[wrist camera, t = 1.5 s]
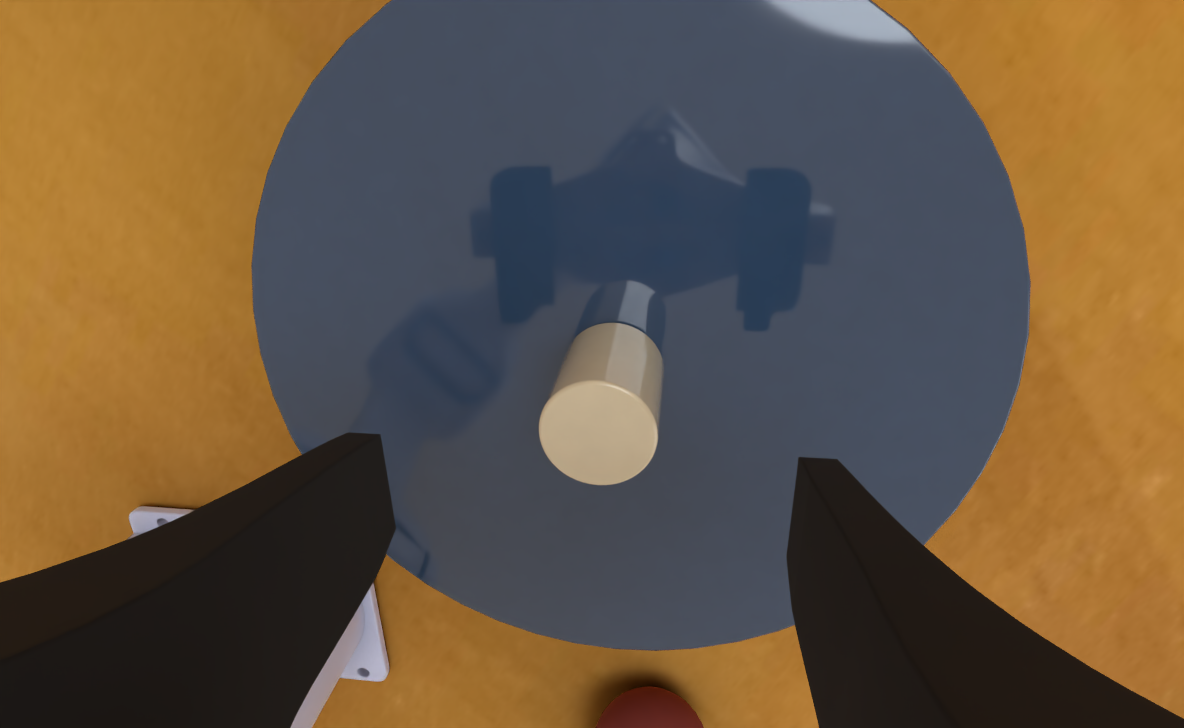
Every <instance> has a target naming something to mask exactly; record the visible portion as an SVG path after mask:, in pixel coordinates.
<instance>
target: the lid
mask: <svg viewBox="0 0 1184 728" xmlns="http://www.w3.org/2000/svg"><path fill="white" fill-rule="evenodd" d="M252 290H253V312H254V318H255V324H256V330H257V336H258V342H259V347H260V353H261V357H262V360H263V364H264V367H265V370H266V374H267V377H268V380H269V384H270V387H271V390H272V394H273V396H274V399H275V401H276V403H277V406H278V408H279V410H280V412H281V415H282V417H283V419H284V422H285V424H286V426H287V429H288V431H289V433H290V435H291V437H292V439H293V440H294V442H295V444H296V445H297V447H298V449H299V451H300V452H301V454H304V453H306V452H308V451H310V450H312V449H314V448H316V447H318V446H320V445H322V444H323V443H326V442H328V441H330V440H332V439H334V438H336V437H338V436H341V435H343V434H346V433H348V432H350V433H368V434H381V440H382V446H383V452H384V458H385V464H386V470H387V476H388V482H389V488H390V494H391V500H392V506H393V512H394V518H395V525H396V530H395V533H394V535H393V538H392V540H391V543H390V545H389V548H388V550H387V553H386V554H387V555H388V556H389V557H390V558H391V559H393V560H394V561H395V562H396V563H398V564H399V565H401V566H402V567H403V568H405V569H406V570H408V571H409V572H410V573H412V574H413V575H415V576H416V577H417V578H419V579H420V580H422V581H423V582H424V583H426V584H427V585H429V586H431V587H432V588H434V589H436V590H438V591H439V592H441V593H443V594H445V595H446V596H448V597H450V598H452V599H453V600H455V601H457V602H458V603H460V604H462V605H464V606H466V607H469V608H471V609H473V610H475V611H477V612H480V613H482V614H484V615H486V616H488V617H491V618H493V619H495V620H497V621H500V622H503V623H506V624H509V625H512V626H515V627H517V628H520V629H523V630H526V631H529V632H532V633H535V634H539V635H543V636H547V637H551V638H555V639H560V640H564V641H568V642H572V643H577V644H584V645H591V646H598V647H606V648H613V649H631V650H654V651H657V650H675V649H693V648H702V647H708V646H715V645H721V644H727V643H734V642H739V641H743V640H747V639H750V638H754V637H758V636H762V635H766V634H769V633H773V632H777V631H780V630H782V629H785V628H788V627H790V626H793V625H795V622H794V618H793V613H792V606H791V598H790V589H789V579H788V569H787V558H786V555H787V547H788V539H789V531H790V523H791V515H792V507H793V498H794V490H795V482H796V474H797V466H798V458H799V457H809V458H828V459H838V460H839V461H840V462H841V463H842V464H843V465H844V466H845V467H846V468H847V470H848V471H849V472H850V473H851V474H852V475H853V476H854V477H855V478H856V479H857V480H858V481H859V482H860V483H861V484H862V485H863V486H864V488H865V489H866V490H867V491H868V492H869V493H870V494H871V495H872V496H873V497H874V498H875V499H876V500H877V501H878V502H879V503H880V504H881V505H882V506H883V507H884V508H885V509H886V510H887V511H888V512H889V513H890V514H891V515H892V516H893V517H894V518H895V519H896V520H897V521H898V522H899V523H900V524H901V525H902V526H903V527H904V528H905V529H906V530H907V531H908V532H909V533H910V534H912V535H913V536H914V537H915V538H916V539H917V540H918V541H919V542H920V543H921V544H922V545H924V544H926V542H927V541H928V540H929V539H930V538H931V537H932V536H933V535H934V534H935V533H936V532H937V530H938V529H939V528H940V527H941V526H942V525H943V524H944V523H945V522H946V521H947V519H948V518H949V517H950V516H951V515H952V514H953V513H954V512H955V511H956V509H957V508H958V506H959V505H960V504H961V502H962V501H963V499H964V498H965V496H966V495H967V494H968V492H969V491H970V489H971V488H972V486H973V485H974V484H975V482H976V481H977V479H978V478H979V476H980V475H981V473H982V472H983V470H984V468H985V466H986V464H987V462H988V460H989V458H990V456H991V454H992V452H993V450H994V448H995V446H996V445H997V443H998V441H999V439H1000V437H1001V435H1002V433H1003V431H1004V428H1005V425H1006V422H1007V419H1008V417H1009V414H1010V411H1011V408H1012V405H1013V402H1014V399H1015V396H1016V393H1017V390H1018V387H1019V384H1020V379H1021V374H1022V369H1023V363H1024V358H1025V352H1026V347H1027V342H1028V336H1029V313H1030V274H1029V266H1028V258H1027V250H1026V242H1025V234H1024V227H1023V224H1022V221H1021V217H1020V214H1019V210H1018V207H1017V203H1016V200H1015V196H1014V193H1013V189H1012V186H1011V182H1010V179H1009V175H1008V173H1007V171H1006V169H1005V167H1004V165H1003V163H1002V160H1001V158H1000V156H999V154H998V152H997V150H996V148H995V146H994V143H993V141H992V139H991V137H990V135H989V133H988V131H987V129H986V126H985V124H984V122H983V121H982V119H981V118H980V116H979V115H978V114H977V112H976V111H975V109H974V108H973V106H972V105H971V103H970V102H969V100H968V99H967V97H966V96H965V94H964V93H963V92H962V90H961V89H960V87H959V86H958V84H957V83H956V81H955V80H954V78H953V77H952V75H951V74H950V73H949V72H948V71H947V69H946V68H945V67H944V66H943V65H942V64H941V63H940V62H939V61H938V60H937V59H936V58H935V57H934V56H933V55H932V54H931V53H930V52H929V50H928V49H927V48H926V47H925V46H924V45H923V44H922V43H921V42H920V41H919V40H918V39H917V38H916V37H915V36H914V35H913V34H912V32H911V31H910V30H909V29H908V28H906V27H905V26H904V25H903V24H901V23H900V22H899V21H897V20H896V19H895V18H893V17H892V16H891V15H890V14H888V13H887V12H886V11H884V10H883V9H882V8H880V7H879V6H878V5H877V4H875V3H874V2H873V1H871V0H391V1H390V2H388V3H387V4H386V5H385V6H383V7H382V8H381V9H380V10H379V11H378V12H377V13H376V14H375V15H373V16H372V17H371V18H370V19H369V20H368V21H367V22H366V23H365V24H363V25H362V26H361V27H360V28H359V29H358V30H357V31H356V32H355V33H354V34H352V35H351V36H350V37H349V38H348V39H347V40H346V41H345V42H344V43H343V45H342V46H341V47H340V48H339V50H338V51H337V52H336V53H335V54H334V56H333V57H332V58H331V59H330V61H329V62H328V63H327V64H326V66H325V67H324V68H323V69H322V70H321V72H320V73H319V74H318V75H317V77H316V78H315V79H314V80H313V82H312V83H311V85H310V87H309V88H308V90H307V92H306V93H305V95H304V97H303V98H302V100H301V102H300V104H299V105H298V107H297V109H296V110H295V112H294V114H293V115H292V117H291V119H290V121H289V122H288V124H287V126H286V128H285V130H284V133H283V135H282V138H281V140H280V143H279V145H278V148H277V150H276V153H275V155H274V158H273V160H272V163H271V165H270V168H269V170H268V173H267V177H266V181H265V185H264V189H263V193H262V197H261V201H260V205H259V210H258V214H257V218H256V226H255V236H254V246H253V256H252Z"/></svg>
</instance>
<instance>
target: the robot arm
mask: <svg viewBox="0 0 1184 728" xmlns="http://www.w3.org/2000/svg"><path fill="white" fill-rule="evenodd" d="M129 521H130V524H131V527H132V530H133V532H134V534H132V535H131V536H130V537H129V538H128V539H127V540H125V541H122V542H120V543H117V544H115V545H112V546H110V547H107V548H104V549H101V550H98V551H96V552H93V553H90V554H87V555H84V556H81V557H78V558H75V559H72V560H69V561H66V562H64V563H61V564H58V565H55V566H52V567H49V568H46V569H43V570H40V571H37V572H34V573H31V574H28V575H25V576H21V577H18V578H14V579H11V580H8V581H4V582H1V583H0V728H312V726H313V725H314V723H315V721H316V719H317V718H318V716H319V714H320V712H321V710H322V709H323V707H324V705H325V703H326V701H327V700H328V698H329V696H330V694H331V692H332V691H333V689H334V687H335V685H336V683H337V682H338V680H339V678H347V679H357V680H367V681H383V680H385V678H386V677H387V675H388V673H389V670H390V667H389V662H388V657H387V652H386V646H385V641H384V636H383V630H382V625H381V620H380V615H379V609H378V604H377V599H376V593H375V588H374V583H373V582H374V580H375V578H376V576H377V574H378V572H379V569H380V567H381V565H382V562H383V560H384V558H385V555H386V553H387V550H388V548H389V545H390V543H391V540H392V538H393V535H394V533H395V530H396V525H395V518H394V512H393V506H392V500H391V494H390V488H389V482H388V476H387V470H386V464H385V458H384V452H383V446H382V440H381V434H368V433H350V432H348V433H346V434H343V435H341V436H338V437H336V438H334V439H332V440H330V441H328V442H326V443H323V444H322V445H320V446H318V447H316V448H314V449H312V450H310V451H308V452H306V453H304V454H302V455H301V456H299V457H297V458H295V459H293V460H291V461H289V462H288V463H286V464H284V465H282V466H280V467H278V468H276V469H274V470H273V471H271V472H269V473H267V474H265V475H263V476H261V477H260V478H258V479H256V480H254V481H252V482H250V483H248V484H246V485H245V486H243V487H241V488H239V489H237V490H234V491H232V492H230V493H228V494H226V495H224V496H222V497H220V498H218V499H216V500H214V501H212V502H210V503H208V504H206V505H204V506H202V507H200V508H198V509H196V510H190V509H176V508H162V507H148V506H140V507H137V508H136V509H135V510H133V511H132V512H131V513H130V515H129ZM786 558H787V569H788V579H789V589H790V598H791V606H792V613H793V618H794V622H795V627H796V631H797V635H798V640H799V644H800V648H801V652H802V657H803V661H804V665H805V669H806V673H807V678H808V682H809V686H810V690H811V694H812V699H813V703H814V707H815V711H816V715H817V720H818V724H819V728H1184V719H1183V718H1181V717H1179V716H1177V715H1176V714H1174V713H1172V712H1170V711H1168V710H1166V709H1164V708H1163V707H1161V706H1159V705H1157V704H1155V703H1153V702H1151V701H1150V700H1148V699H1146V698H1144V697H1142V696H1140V695H1138V694H1137V693H1135V692H1133V691H1131V690H1129V689H1127V688H1126V687H1124V686H1122V685H1120V684H1119V683H1117V682H1115V681H1113V680H1112V679H1110V678H1108V677H1106V676H1105V675H1103V674H1101V673H1100V672H1098V671H1096V670H1094V669H1093V668H1091V667H1089V666H1088V665H1086V664H1085V663H1083V662H1081V661H1080V660H1078V659H1077V658H1075V657H1073V656H1072V655H1070V654H1069V653H1067V652H1065V651H1064V650H1062V649H1061V648H1059V647H1057V646H1056V645H1054V644H1053V643H1051V642H1050V641H1048V640H1046V639H1045V638H1043V637H1042V636H1040V635H1039V634H1037V633H1036V632H1034V631H1033V630H1031V629H1030V628H1028V627H1027V626H1025V625H1024V624H1022V623H1021V622H1019V621H1018V620H1017V619H1015V618H1014V617H1012V616H1011V615H1010V614H1008V613H1007V612H1006V611H1004V610H1003V609H1002V608H1000V607H999V606H997V605H996V604H995V603H993V602H992V601H991V600H989V599H988V598H987V597H985V596H984V595H982V594H981V593H980V592H978V591H977V590H976V589H975V588H973V587H972V586H971V585H969V584H968V583H967V582H966V581H964V580H963V579H962V578H961V577H959V576H958V575H957V574H956V573H955V572H954V571H952V570H951V569H950V568H949V567H948V566H947V565H945V564H944V563H943V562H942V561H941V560H940V559H938V558H937V557H936V556H935V555H934V554H933V553H931V552H930V551H929V550H928V549H927V548H926V547H925V546H924V545H922V544H921V543H920V542H919V541H918V540H917V539H916V538H915V537H914V536H913V535H912V534H910V533H909V532H908V531H907V530H906V529H905V528H904V527H903V526H902V525H901V524H900V523H899V522H898V521H897V520H896V519H895V518H894V517H893V516H892V515H891V514H890V513H889V512H888V511H887V510H886V509H885V508H884V507H883V506H882V505H881V504H880V503H879V502H878V501H877V500H876V499H875V498H874V497H873V496H872V495H871V494H870V493H869V492H868V491H867V490H866V489H865V488H864V486H863V485H862V484H861V483H860V482H859V481H858V480H857V479H856V478H855V477H854V476H853V475H852V474H851V473H850V472H849V471H848V470H847V468H846V467H845V466H844V465H843V464H842V463H841V462H840V461H839V460H838V459H828V458H809V457H799V458H798V466H797V474H796V482H795V490H794V498H793V507H792V515H791V523H790V531H789V539H788V547H787V555H786Z"/></svg>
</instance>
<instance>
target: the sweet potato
mask: <svg viewBox="0 0 1184 728" xmlns="http://www.w3.org/2000/svg"><path fill="white" fill-rule="evenodd" d="M596 728H703V725H702V722H701V721H700V719H699V717H698V716H697V714H696V713H695V711H694V710H693V709H692V708H691V707H690V706H689V704H688V703H687V702H686V701H685V700H683V699H682V698H681V697H680V696H678V695H676V694H674V693H672V692H670V691H668V690H665V689H662V688H657V687H639V688H635V689H632V690H629V691H626V692H624V693H622V694H621V695H619V696H618V697H617V698H615V699H614V700H613V701H612V702H611V703H610V704H609V705H608V706H607V708H606V709H605V710H604V711H603V713H602V715H601V717H600V719H599V721H598V723H597V725H596Z"/></svg>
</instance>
